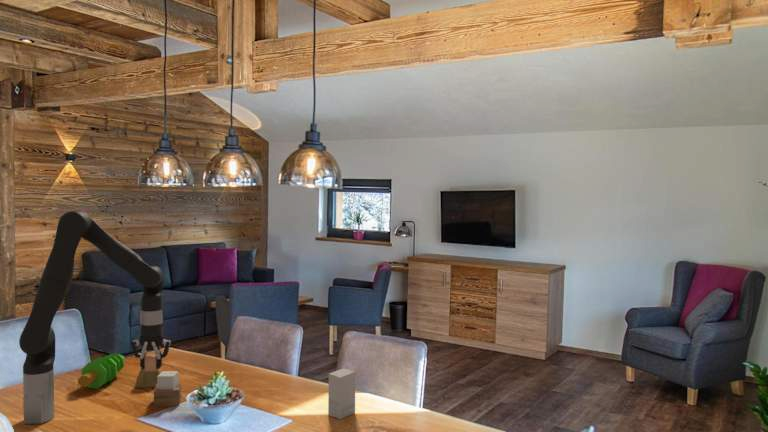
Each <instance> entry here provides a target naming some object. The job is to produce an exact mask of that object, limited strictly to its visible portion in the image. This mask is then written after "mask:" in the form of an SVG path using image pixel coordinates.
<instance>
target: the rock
mask: <svg viewBox="0 0 768 432" xmlns="http://www.w3.org/2000/svg"><path fill="white" fill-rule="evenodd" d="M160 373H161V372H160V370H159V369H158V370H156V371H151V372H148V371H144V369H142V368H141V367H140V370H139V372H138V375H137V377H136V379H135V380H136V381H135V384H134V389H137V388H139V389H140V388H141V389H146V388H147V389H148V388H155V387H156V384H157V376H158V375H159V374H160Z"/></svg>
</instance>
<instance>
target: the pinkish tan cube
mask: <svg viewBox="0 0 768 432" xmlns="http://www.w3.org/2000/svg"><path fill="white" fill-rule="evenodd" d="M156 370H158V371H159V369H157V356H156V354H155V353H150V354H146V355H145V356H144V371H148V372H151V371H156Z"/></svg>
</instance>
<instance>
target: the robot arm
mask: <svg viewBox="0 0 768 432" xmlns="http://www.w3.org/2000/svg"><path fill="white" fill-rule="evenodd" d="M81 239H83V240H85V241H86V242H88V243H90V244H92V245H93V246H95V247H96V248H97V249H98V250H100V252H101V253H103V254H104V255H105V257H106V258H108V260H110V261H111V262H112V263H113V264H114V265H117V266H118V267H119V268H120V269H122V270H124V271H125V272H126V273H128V274H129V275H130V276H131V277H132V278H133V279H134V280H135V281H137V282H138V283H139V284H140V285H142V288H143V291H142V295H141V300H140V304H141V305H140V316H139V317H140V318H139V319H140V321H139V323H140V324H139V325H140V327H139V328H140V329H139V333H140V334H139V339H134V340H133V341H131V342H130V345H131V348H132V350H133V351H132V352H133V355H134V357H135V358H139V366H140V369H141V368H142V369H144V356H145V355H147V353H148V351H153V352H154V354H156V356H157V369H158V370H159V369H161V368H162V366H163V359H164V358H166V357H167V356H168V354H169V351H170V348H171V344H172V341H171V339H169V340H168V339H165V338H164V337H163V322H164V317H163V316H164V315H163V298H162V295H163V287H164V273H163V270H162V269H161V268H160V267H159V266H157V265H156V266H155V265H152V266H150V265H149V264H148V263H146V261H144V260H143V258H142V257H141V256H140V255H139V254H138V253H136V252H135V251H133V250H132V249H130V248H129V247H128V246H126V245H125V244H123V243H122V242H121V241H119V240H117V239H116V238H115V237H113V236H112V235H111V234H109V233H108V232H107V231H106V230H104V229H103V227H102V226H100V225H99V224H98V223H97V221H95V220H94V218H92V217H91V216H90V215H89V214H88V213H87V212H86V211H84V210H70V211H67V212H65V213H63V214H62V215H61V216H60V218H59V220H58V222H57V228H56V233H55V237H54V241H53V245H52V249H51V251H50V254H49V256H48V258H47V262H46V263H45V267H44V269H43V272H42V274H41V275H42V276H41V277H40V281H39V284H38V287H37V291H36V294H35V298H34V301H33V304H32V308H31V312H30V314H29V318H28V319H27V321H26V324H25V325H24V328H23V330H22V332H21V334H20V337H19V342H18V343H19V348H20V349H21V351H22V352H23V353H24V354H26V356H25V359H24V362H23V365H22V379H23V380H22V381H23V387H22V388H23V398H22V400H23V402H22V405H23V406H22V407H23V411H22V412H23V425H35V424H38V425H39V424H44V423H45V422H48V421H51V420H53V419H54V418H55V384H54V383H55V382H54V381H55V379H54V376H55V375H54V373H55V371H54V366H55V365H54V363H55V359H56V333H55V331H54V329H53V327H52V324H53V321H54V318H55V316H56V314H57V312H58V310H59V309H60V307H61V305H62V304H63V301H64V300H65V298H66V296H67V293H69V289H70V286H71V283H72V280H73V276H74V270H75V257H76V251H77V250H78V247H79V244H80V242H81ZM162 344H163V347H164V349H163V352H162V349H161V345H162ZM140 345H141V347H142V349H141V351H140V348H139V346H140Z"/></svg>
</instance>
